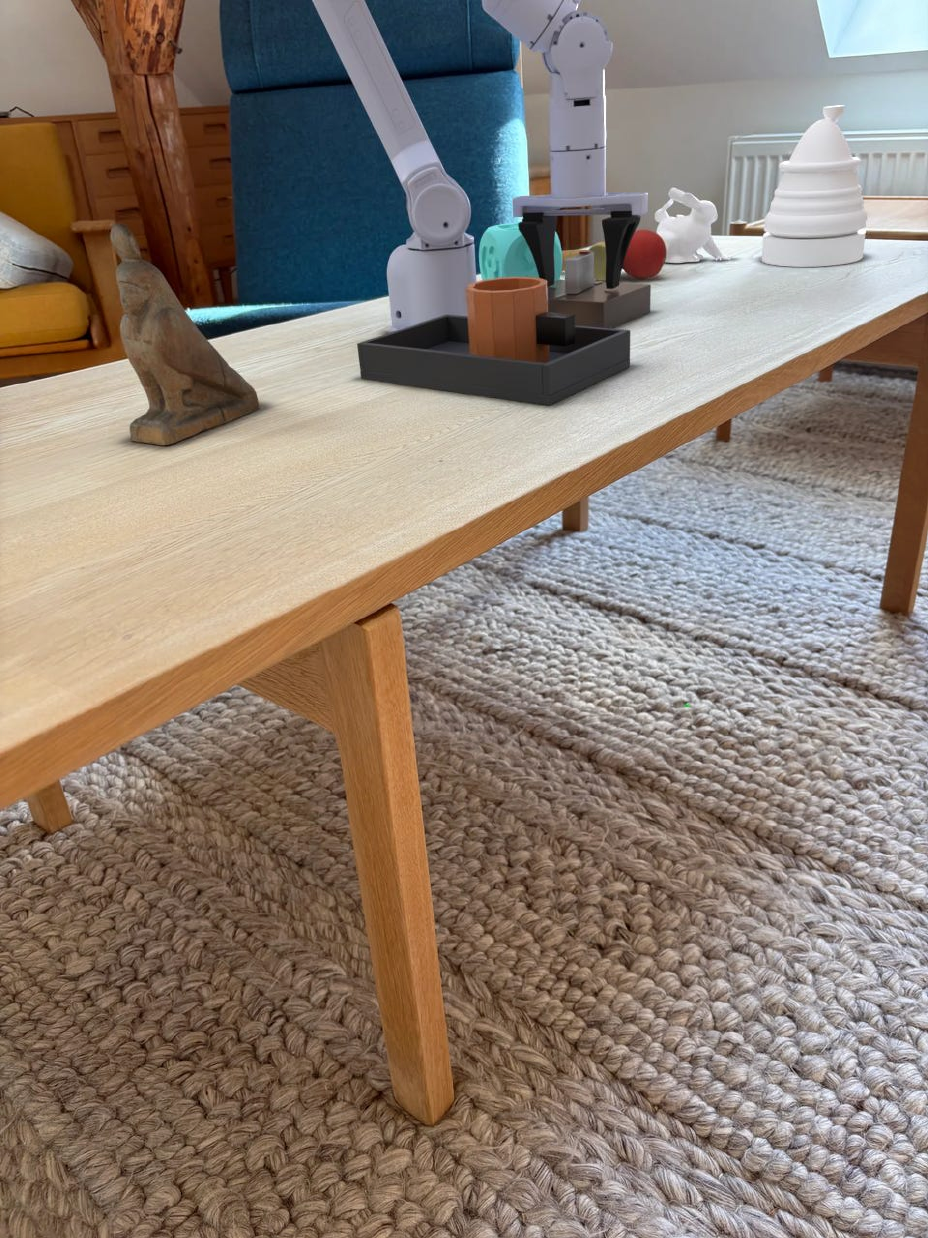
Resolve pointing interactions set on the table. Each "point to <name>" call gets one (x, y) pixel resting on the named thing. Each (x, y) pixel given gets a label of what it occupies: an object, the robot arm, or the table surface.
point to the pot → (515, 319)
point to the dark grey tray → (491, 362)
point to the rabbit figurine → (688, 229)
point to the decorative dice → (511, 254)
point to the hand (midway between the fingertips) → (579, 286)
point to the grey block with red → (579, 272)
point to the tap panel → (601, 303)
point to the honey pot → (817, 202)
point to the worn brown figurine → (171, 356)
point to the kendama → (630, 256)
